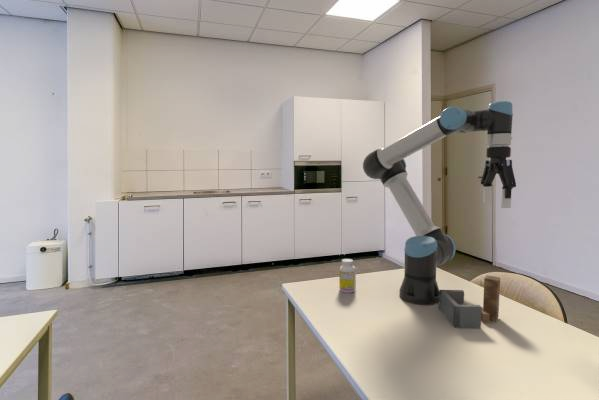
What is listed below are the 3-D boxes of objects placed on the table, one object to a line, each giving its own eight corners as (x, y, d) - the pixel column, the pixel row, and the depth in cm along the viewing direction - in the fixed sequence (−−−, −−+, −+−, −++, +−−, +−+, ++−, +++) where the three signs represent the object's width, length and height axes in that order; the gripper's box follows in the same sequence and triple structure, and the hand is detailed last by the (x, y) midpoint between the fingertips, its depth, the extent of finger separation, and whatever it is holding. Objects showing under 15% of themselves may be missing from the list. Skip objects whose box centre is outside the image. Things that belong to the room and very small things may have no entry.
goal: (438, 308, 125) (439, 289, 124) (461, 308, 124) (462, 290, 124) (454, 327, 110) (455, 306, 109) (480, 328, 109) (481, 306, 109)
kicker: (469, 319, 116) (471, 278, 114) (474, 312, 121) (476, 273, 120) (494, 325, 111) (496, 283, 110) (498, 317, 117) (500, 277, 115)
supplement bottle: (344, 286, 149) (344, 257, 148) (358, 289, 145) (358, 259, 144) (336, 291, 143) (336, 260, 142) (350, 294, 140) (351, 263, 138)
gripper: (530, 144, 111) (527, 209, 113) (492, 148, 136) (490, 202, 138) (506, 144, 111) (503, 209, 113) (472, 148, 136) (470, 202, 138)
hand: (496, 205), depth 125 cm, fingers open, 13 cm apart
